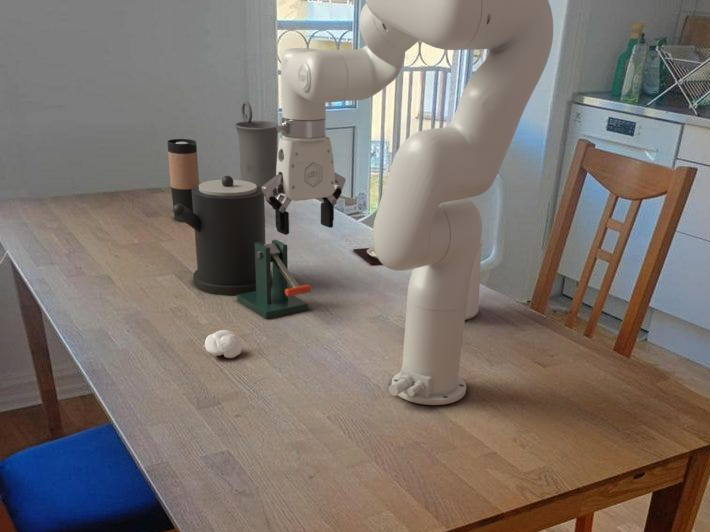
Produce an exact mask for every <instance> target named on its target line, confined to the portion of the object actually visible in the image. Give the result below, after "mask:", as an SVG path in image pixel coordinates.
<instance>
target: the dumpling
mask: <svg viewBox="0 0 710 532" xmlns="http://www.w3.org/2000/svg"><path fill="white" fill-rule="evenodd" d="M202 347H203V348H205V350H206V351H207V352H208V354H211V355H212V356H215V357H217V356H222V355H223V357H224V358H227V359H234V358H236V357H237V356H239V355H240V354H241V353H242V350H243V345H242V342H241V340H240V338H239V337H238V336H237V335H236V334H235V332H233V331H231V330H228V329H221V330H220V329H219V330H217V331H215V332H214V333H211V334H209V335H207V336H206V338H205V341H204V345H203V346H202Z"/></svg>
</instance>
